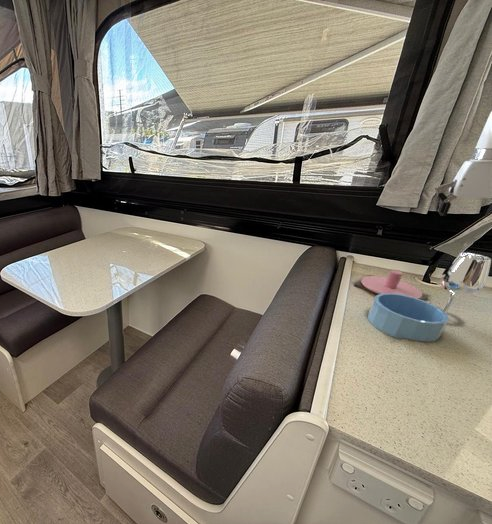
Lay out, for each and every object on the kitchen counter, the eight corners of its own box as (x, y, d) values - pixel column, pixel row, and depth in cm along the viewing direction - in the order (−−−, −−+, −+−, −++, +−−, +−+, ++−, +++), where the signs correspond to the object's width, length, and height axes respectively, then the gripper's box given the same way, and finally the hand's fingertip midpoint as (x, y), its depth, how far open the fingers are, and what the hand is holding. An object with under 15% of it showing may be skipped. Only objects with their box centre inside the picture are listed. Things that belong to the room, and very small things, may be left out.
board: (426, 298, 89) (427, 295, 88) (410, 307, 84) (411, 305, 83) (371, 278, 102) (371, 276, 101) (353, 285, 97) (354, 283, 96)
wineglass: (459, 331, 73) (498, 265, 65) (420, 318, 78) (451, 255, 70) (461, 320, 77) (498, 256, 69) (424, 308, 83) (454, 248, 75)
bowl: (446, 333, 72) (458, 313, 70) (422, 351, 66) (434, 330, 64) (382, 306, 84) (390, 288, 82) (357, 320, 78) (364, 301, 76)
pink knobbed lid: (429, 294, 89) (438, 276, 86) (407, 306, 83) (416, 288, 80) (374, 275, 102) (380, 259, 99) (351, 285, 95) (357, 268, 93)
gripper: (532, 155, 73) (501, 217, 79) (443, 155, 81) (421, 211, 88) (551, 156, 67) (515, 223, 73) (453, 156, 75) (429, 216, 82)
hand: (464, 216), depth 81 cm, fingers open, 9 cm apart
